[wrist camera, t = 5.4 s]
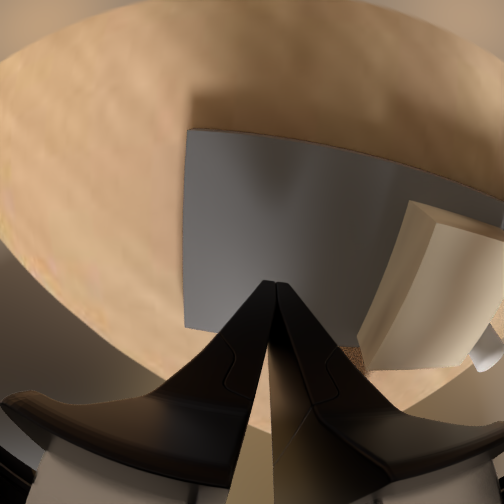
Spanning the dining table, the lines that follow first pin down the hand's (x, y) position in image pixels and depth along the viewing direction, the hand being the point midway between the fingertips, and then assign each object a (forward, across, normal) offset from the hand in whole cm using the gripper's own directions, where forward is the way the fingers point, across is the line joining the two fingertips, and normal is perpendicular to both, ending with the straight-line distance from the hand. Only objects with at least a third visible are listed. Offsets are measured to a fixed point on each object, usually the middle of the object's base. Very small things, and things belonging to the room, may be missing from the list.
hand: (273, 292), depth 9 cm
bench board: (+3, -5, 0) cm, 6 cm away
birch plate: (+2, -8, 0) cm, 8 cm away
